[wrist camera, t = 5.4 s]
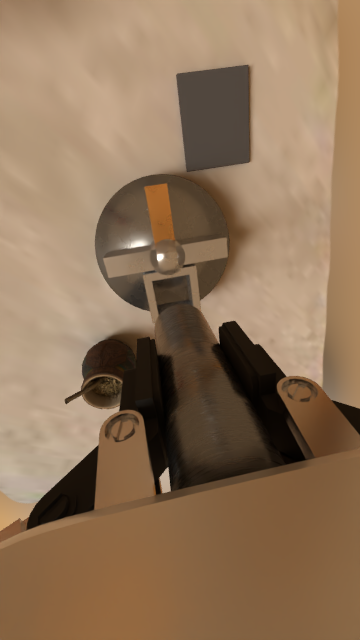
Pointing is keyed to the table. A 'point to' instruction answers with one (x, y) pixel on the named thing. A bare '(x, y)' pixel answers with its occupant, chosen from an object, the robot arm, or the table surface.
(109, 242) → the chuck base
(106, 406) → the mate gourd
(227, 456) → the grey pestle
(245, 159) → the mat
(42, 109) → the table surface
